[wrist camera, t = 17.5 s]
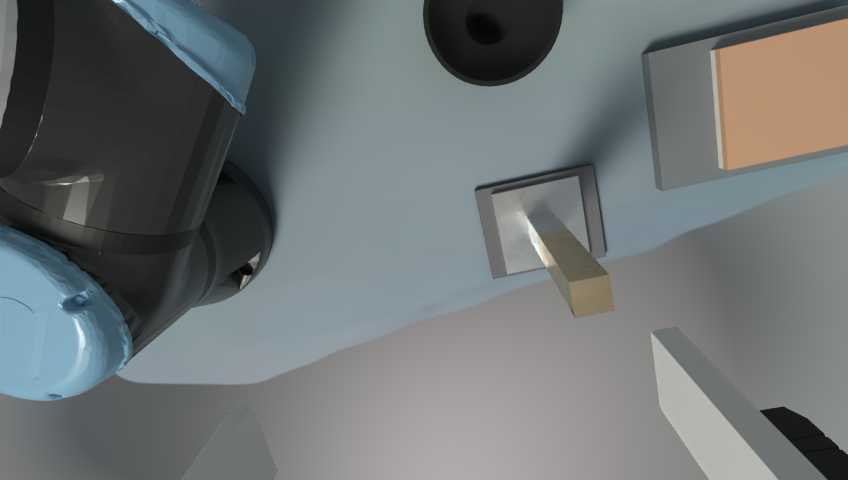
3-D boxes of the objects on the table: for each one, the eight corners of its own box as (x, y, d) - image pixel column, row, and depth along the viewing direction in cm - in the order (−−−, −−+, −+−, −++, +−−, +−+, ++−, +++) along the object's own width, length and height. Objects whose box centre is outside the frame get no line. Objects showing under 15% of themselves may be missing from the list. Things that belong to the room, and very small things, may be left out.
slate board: (656, 187, 46) (662, 190, 45) (641, 54, 43) (648, 53, 42) (838, 149, 44) (852, 150, 43) (837, 6, 41) (851, 3, 40)
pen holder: (520, -46, 41) (541, -89, 32) (549, 67, 44) (578, 58, 34) (414, -5, 43) (404, -34, 33) (448, 103, 45) (448, 104, 35)
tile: (728, 170, 42) (852, 143, 41) (719, 49, 40) (852, 17, 39) (719, 167, 44) (838, 142, 43) (710, 50, 41) (837, 20, 40)
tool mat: (492, 277, 49) (493, 279, 49) (474, 190, 47) (474, 191, 47) (604, 254, 48) (605, 256, 48) (591, 164, 46) (592, 165, 45)
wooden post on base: (506, 272, 49) (537, 365, 32) (490, 193, 47) (514, 248, 30) (588, 255, 48) (665, 342, 31) (576, 174, 46) (651, 220, 29)
